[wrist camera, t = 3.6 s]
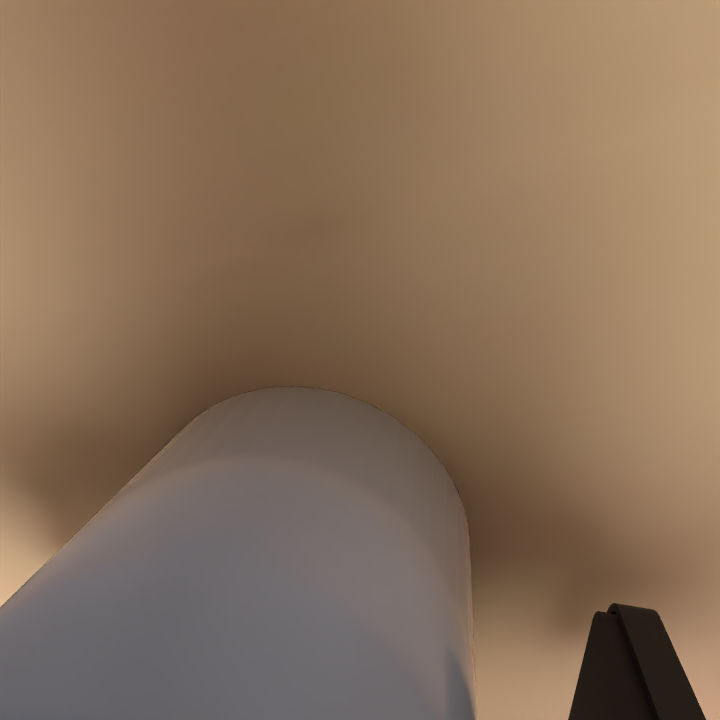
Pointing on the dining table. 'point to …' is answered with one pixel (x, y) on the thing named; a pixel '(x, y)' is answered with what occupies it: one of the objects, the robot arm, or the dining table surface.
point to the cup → (257, 579)
